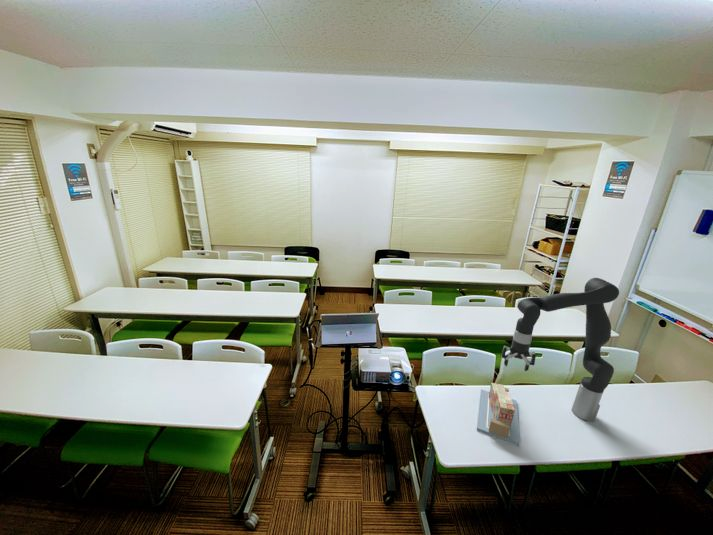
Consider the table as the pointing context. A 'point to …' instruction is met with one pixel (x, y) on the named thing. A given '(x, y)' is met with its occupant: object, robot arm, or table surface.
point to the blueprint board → (483, 419)
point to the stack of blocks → (501, 404)
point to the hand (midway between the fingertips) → (515, 367)
